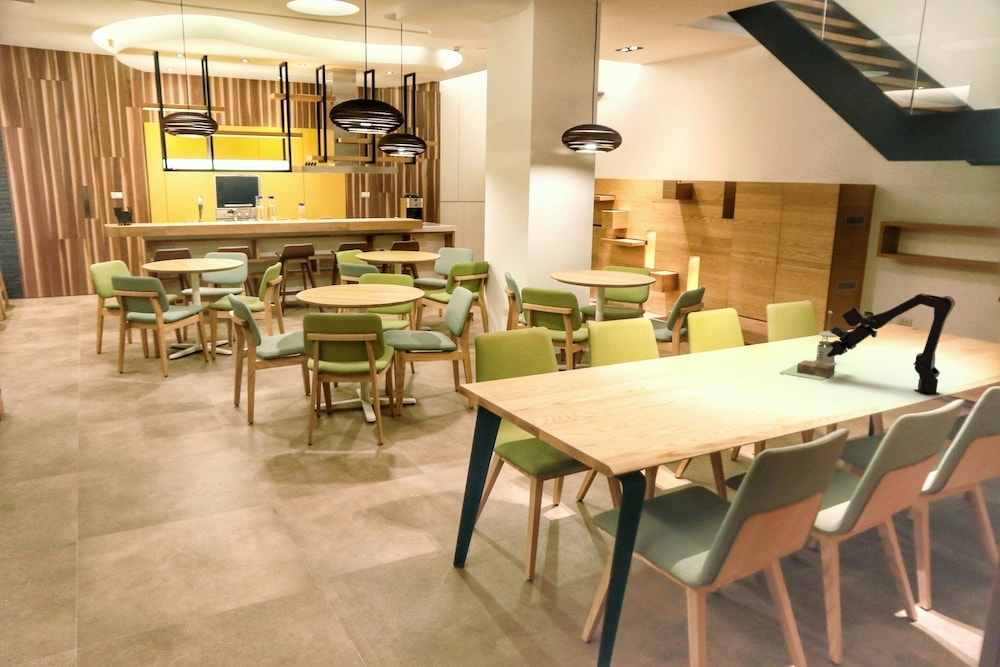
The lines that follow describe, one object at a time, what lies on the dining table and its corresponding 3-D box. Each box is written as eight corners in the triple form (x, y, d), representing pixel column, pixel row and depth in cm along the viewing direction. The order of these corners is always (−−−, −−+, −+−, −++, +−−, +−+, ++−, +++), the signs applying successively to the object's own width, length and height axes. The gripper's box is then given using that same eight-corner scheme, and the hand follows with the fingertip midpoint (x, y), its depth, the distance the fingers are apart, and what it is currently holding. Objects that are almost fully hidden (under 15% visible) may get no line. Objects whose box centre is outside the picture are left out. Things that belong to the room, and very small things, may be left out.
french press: (815, 364, 326) (821, 312, 321) (811, 358, 337) (816, 308, 332) (838, 365, 324) (844, 313, 319) (833, 360, 335) (838, 309, 330)
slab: (835, 365, 307) (804, 360, 316) (828, 368, 301) (797, 363, 309) (834, 373, 308) (804, 368, 317) (827, 377, 302) (796, 372, 310)
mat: (836, 372, 313) (836, 371, 312) (821, 380, 298) (821, 379, 298) (795, 365, 324) (796, 364, 324) (779, 373, 310) (779, 372, 310)
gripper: (851, 317, 304) (822, 338, 314) (837, 323, 291) (808, 344, 300) (869, 337, 301) (839, 358, 310) (856, 344, 287) (825, 365, 297)
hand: (827, 356), depth 305 cm, fingers closed
